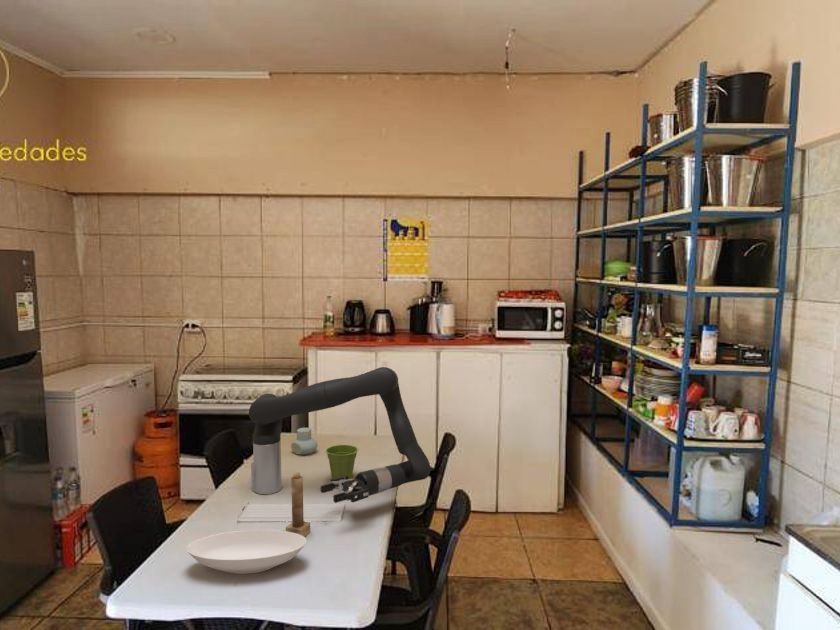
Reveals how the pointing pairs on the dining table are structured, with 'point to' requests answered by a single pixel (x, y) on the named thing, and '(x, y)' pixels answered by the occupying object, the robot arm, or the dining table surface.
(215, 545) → the bowl
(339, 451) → the plant pot
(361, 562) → the dining table surface
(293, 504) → the brown peg on stand
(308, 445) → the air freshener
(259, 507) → the baseboard molding
